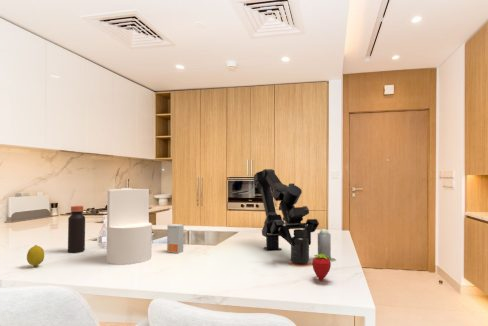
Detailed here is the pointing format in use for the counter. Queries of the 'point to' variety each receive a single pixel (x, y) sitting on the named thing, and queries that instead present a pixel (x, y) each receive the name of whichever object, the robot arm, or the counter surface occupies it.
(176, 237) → the skincare box
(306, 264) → the card
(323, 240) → the grey tube
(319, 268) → the strawberry
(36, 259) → the lemon
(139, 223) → the white stepped holder
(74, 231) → the vinegar
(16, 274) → the counter surface
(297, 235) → the supplement bottle
